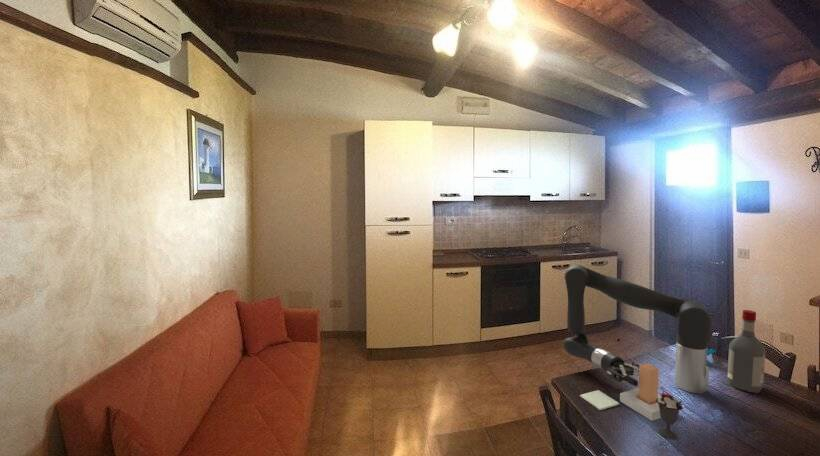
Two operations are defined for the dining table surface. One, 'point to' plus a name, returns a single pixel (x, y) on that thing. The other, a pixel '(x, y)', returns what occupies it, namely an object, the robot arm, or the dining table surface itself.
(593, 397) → the pad
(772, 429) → the dining table surface
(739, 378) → the liquor
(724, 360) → the dining table surface
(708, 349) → the gear
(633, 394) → the socket block
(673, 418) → the sundae
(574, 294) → the robot arm
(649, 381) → the peg
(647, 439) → the dining table surface
